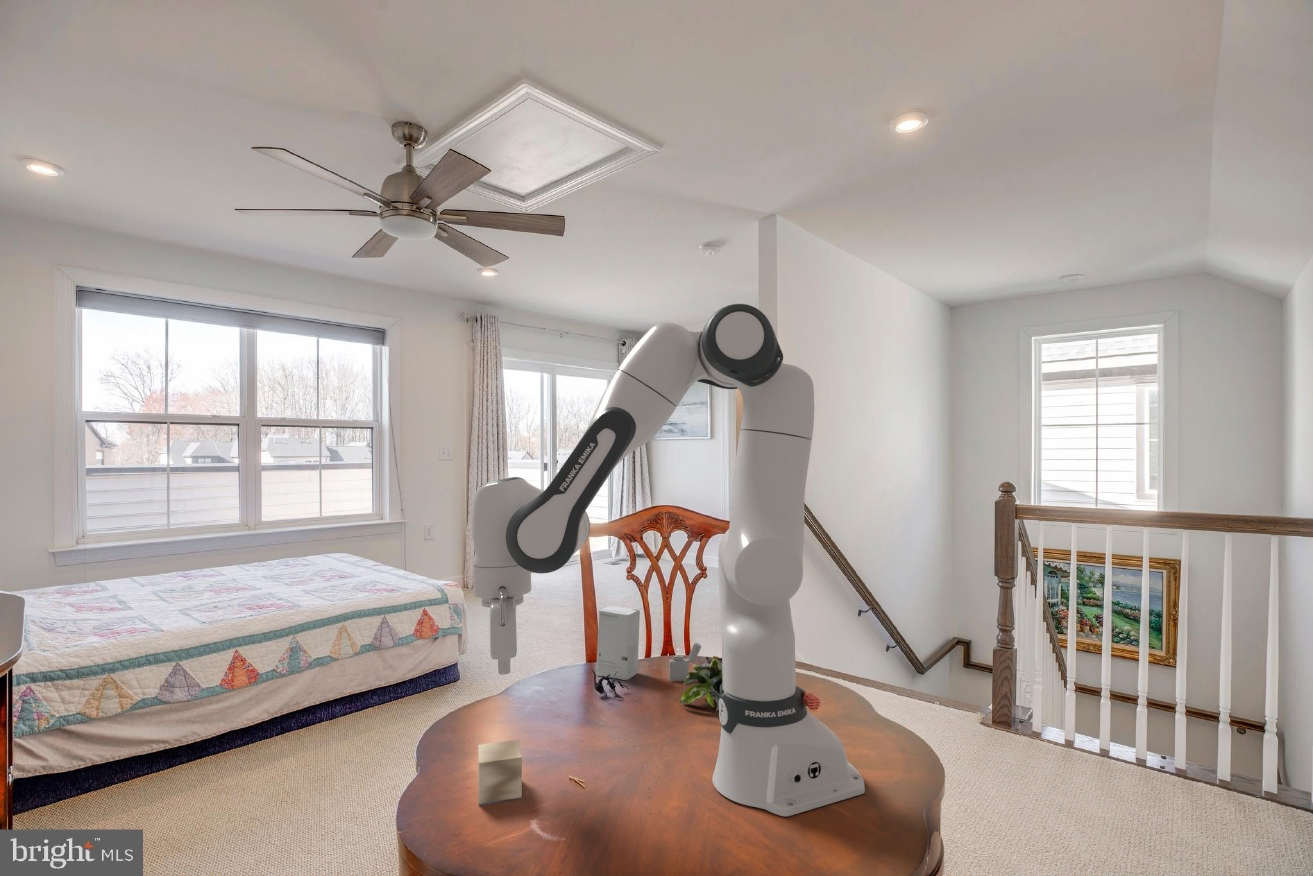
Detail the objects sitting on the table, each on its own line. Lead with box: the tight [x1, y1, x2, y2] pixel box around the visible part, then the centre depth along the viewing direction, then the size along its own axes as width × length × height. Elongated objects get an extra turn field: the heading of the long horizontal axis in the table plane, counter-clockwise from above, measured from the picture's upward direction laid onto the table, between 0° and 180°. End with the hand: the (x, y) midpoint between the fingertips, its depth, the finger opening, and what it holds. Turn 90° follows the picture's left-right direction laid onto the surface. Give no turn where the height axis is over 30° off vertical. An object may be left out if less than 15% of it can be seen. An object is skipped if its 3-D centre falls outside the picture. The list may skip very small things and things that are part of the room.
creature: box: [591, 669, 630, 700], centre depth 130 cm, size 8×5×8 cm
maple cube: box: [477, 739, 523, 806], centre depth 92 cm, size 6×6×6 cm
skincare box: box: [595, 605, 641, 681], centre depth 142 cm, size 8×6×15 cm
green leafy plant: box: [679, 655, 722, 715], centre depth 123 cm, size 11×11×12 cm
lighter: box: [668, 642, 702, 682], centre depth 139 cm, size 7×2×8 cm, turn 95°
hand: (504, 671), depth 96 cm, fingers closed
